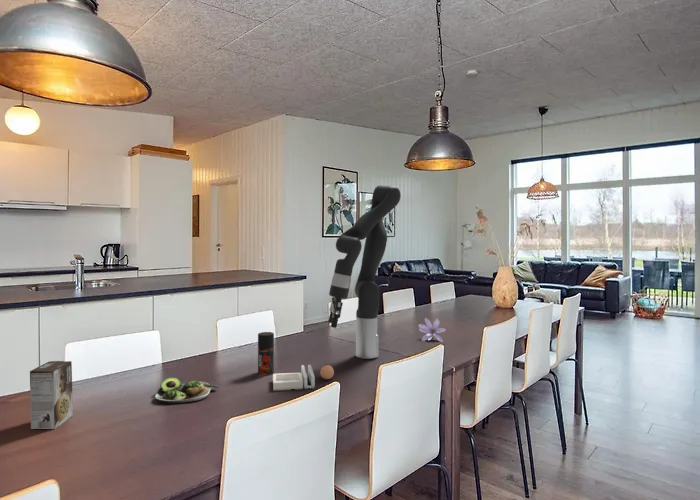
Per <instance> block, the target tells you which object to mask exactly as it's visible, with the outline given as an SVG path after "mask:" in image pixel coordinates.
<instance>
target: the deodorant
mask: <svg viewBox="0 0 700 500" xmlns="http://www.w3.org/2000/svg"><path fill="white" fill-rule="evenodd" d="M274 372H275V333H274V332H271V331H261V332H259V333H257V374H258V375H259V376H270V375H273V374H275V373H274Z"/></svg>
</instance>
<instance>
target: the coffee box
mask: <svg viewBox="0 0 700 500" xmlns="http://www.w3.org/2000/svg"><path fill="white" fill-rule="evenodd" d="M72 362H73V361H72V360H71V361H66V360H65V361H64V360H52V361H51V360H50V361H48V362H45V363H43V364H41V365H39V366H38V367H35V368H33V369H32V370H30V371H29V387H30V389H29V390H30V391H29V392H30V393H29V394H30V395H29V396H30V397H29V398H30V430H31V429H54V430H56V429H57V428H59V427H60V426H61V425H63V424H64V423H65V422H66V421H68V420H69V419H71V417H73V415H74V414H73V413H74V409H73V405H74V404H73V402H74V401H73V370H72V369H73V368H72V366H73V365H72Z"/></svg>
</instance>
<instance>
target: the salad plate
mask: <svg viewBox="0 0 700 500" xmlns="http://www.w3.org/2000/svg"><path fill="white" fill-rule="evenodd" d="M159 387H160V388H159V389H158V390H157V392H156V393H155V395H154V398H153V400H154V402H157V403H158V404H161V405H162V404H163V405H174V404H182V403H185V404H186V403H191V402H196V401H200V400H204V399H205V398H208V396H209V395H210V392H211V391H212V390H213V389H218V388H220V386H219V385H215V384H209V383H208V382H205V381H200V380H199V381H198V380H191V381H189V382H187V381H185V382H184V381H181V379H179V378H177V377H167V378H165V379H163V380H162V382H161V383H160V385H159ZM192 396H193V398H189V397H192ZM195 396H196V397H195ZM186 398H187V399H186Z"/></svg>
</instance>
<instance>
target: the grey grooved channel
mask: <svg viewBox="0 0 700 500" xmlns="http://www.w3.org/2000/svg"><path fill="white" fill-rule="evenodd" d="M300 369H301V370H300V372H301V375H302V379H303V389H304V390H308V388H310V389H311V388H312V389H315V388H316V386H315V384H316V383H315V382H316V381H315V379H316V378H315V377H316V376H315V373H314V371H313V367H312V365H311V364H308V365H307V370H306V367H305V365H303V364H302V365H301V367H300ZM308 382H309V384H310V385H309V384H308ZM310 389H309V390H310Z"/></svg>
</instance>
